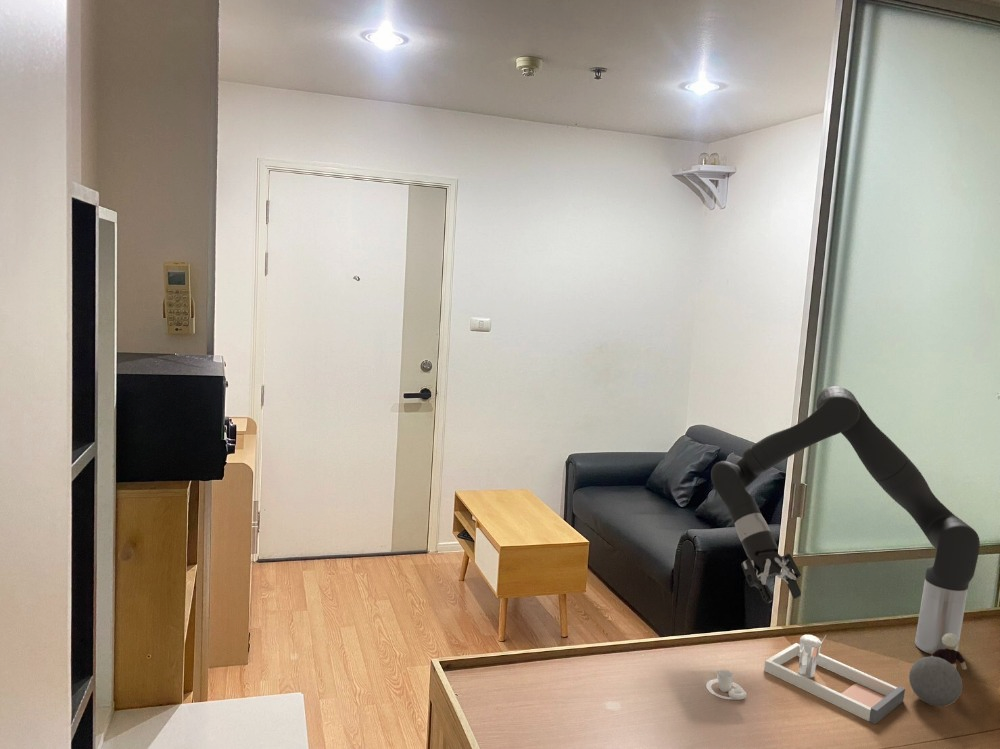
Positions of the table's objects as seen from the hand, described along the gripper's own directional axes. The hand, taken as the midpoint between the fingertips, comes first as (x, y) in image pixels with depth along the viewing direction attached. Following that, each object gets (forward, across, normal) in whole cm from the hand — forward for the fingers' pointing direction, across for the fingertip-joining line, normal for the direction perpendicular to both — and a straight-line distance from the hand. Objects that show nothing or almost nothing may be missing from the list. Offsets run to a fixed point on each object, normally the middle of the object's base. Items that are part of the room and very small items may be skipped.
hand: (784, 599), depth 185 cm
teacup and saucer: (+17, -25, +3) cm, 31 cm away
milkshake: (+17, 0, +3) cm, 17 cm away
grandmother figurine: (+26, +26, -7) cm, 38 cm away
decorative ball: (+29, +18, -9) cm, 35 cm away
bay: (+20, +2, -1) cm, 20 cm away
